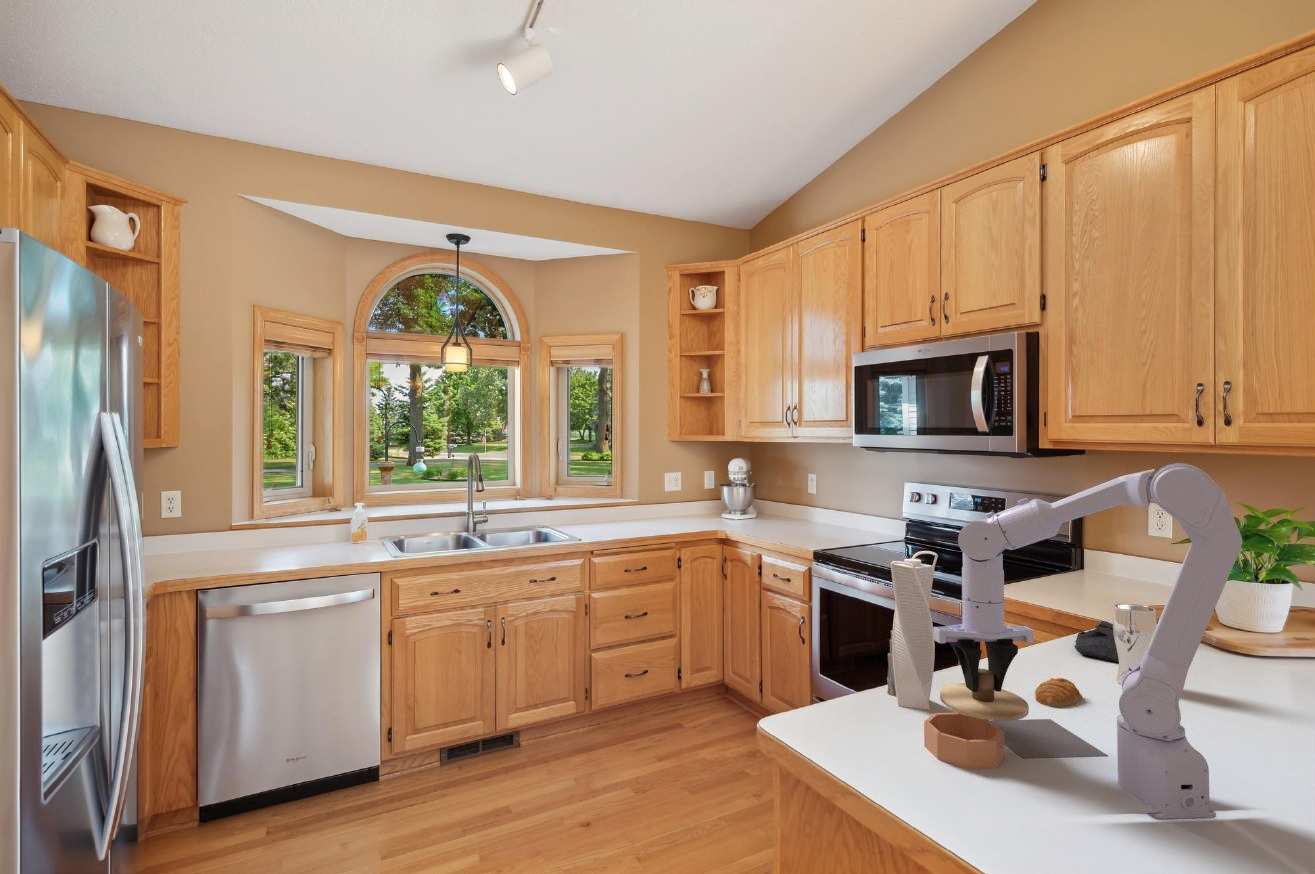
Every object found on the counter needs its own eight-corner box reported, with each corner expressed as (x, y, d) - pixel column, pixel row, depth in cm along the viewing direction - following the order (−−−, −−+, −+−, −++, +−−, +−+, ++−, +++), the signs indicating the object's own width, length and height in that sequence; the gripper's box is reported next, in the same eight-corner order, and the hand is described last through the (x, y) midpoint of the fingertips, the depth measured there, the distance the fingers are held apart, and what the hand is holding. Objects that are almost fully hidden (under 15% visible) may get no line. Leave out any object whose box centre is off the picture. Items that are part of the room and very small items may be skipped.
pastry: (1068, 717, 112) (1068, 694, 112) (1025, 706, 116) (1025, 684, 117) (1084, 702, 118) (1083, 681, 118) (1043, 692, 123) (1042, 672, 123)
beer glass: (1166, 688, 124) (1165, 609, 125) (1142, 693, 122) (1141, 612, 122) (1128, 676, 131) (1127, 601, 131) (1105, 680, 128) (1104, 604, 128)
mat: (1108, 760, 95) (1108, 755, 95) (1022, 763, 95) (1022, 757, 95) (1050, 723, 108) (1050, 718, 108) (974, 725, 108) (974, 720, 108)
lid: (1046, 720, 92) (1046, 687, 92) (962, 720, 92) (962, 686, 92) (1001, 688, 104) (1001, 658, 104) (926, 688, 104) (927, 658, 104)
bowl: (1016, 772, 92) (1016, 740, 92) (947, 774, 91) (947, 742, 91) (978, 740, 102) (977, 711, 102) (915, 742, 101) (915, 713, 101)
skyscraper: (935, 701, 118) (933, 548, 119) (942, 719, 111) (940, 555, 111) (886, 697, 121) (885, 546, 121) (889, 714, 113) (888, 553, 113)
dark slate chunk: (1062, 656, 145) (1062, 634, 145) (1080, 635, 161) (1080, 616, 162) (1147, 672, 135) (1147, 649, 135) (1158, 648, 151) (1158, 627, 151)
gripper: (1013, 592, 103) (1014, 679, 103) (924, 593, 102) (924, 680, 102) (1042, 603, 96) (1042, 696, 95) (945, 604, 95) (946, 697, 95)
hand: (983, 689), depth 98 cm, fingers closed on lid, 3 cm apart
